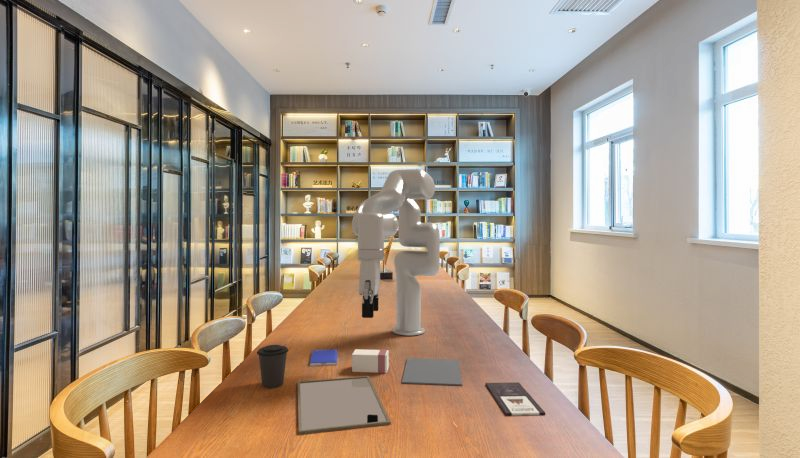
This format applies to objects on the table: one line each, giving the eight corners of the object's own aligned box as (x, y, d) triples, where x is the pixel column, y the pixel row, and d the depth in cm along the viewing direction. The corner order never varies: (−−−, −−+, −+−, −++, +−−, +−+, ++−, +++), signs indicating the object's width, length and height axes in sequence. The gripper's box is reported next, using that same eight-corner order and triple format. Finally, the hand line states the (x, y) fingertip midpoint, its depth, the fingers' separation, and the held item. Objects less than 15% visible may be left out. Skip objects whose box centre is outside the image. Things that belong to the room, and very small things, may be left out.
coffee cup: (261, 392, 109) (261, 353, 109) (253, 382, 116) (253, 345, 116) (292, 386, 113) (292, 348, 113) (283, 376, 120) (283, 340, 120)
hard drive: (312, 350, 141) (309, 362, 129) (337, 349, 142) (337, 361, 130) (312, 354, 141) (309, 367, 129) (337, 353, 142) (337, 366, 130)
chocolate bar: (518, 382, 115) (545, 412, 97) (518, 385, 115) (545, 416, 97) (485, 382, 115) (505, 413, 97) (485, 386, 115) (505, 417, 97)
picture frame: (390, 426, 92) (368, 379, 120) (390, 421, 92) (368, 375, 120) (298, 436, 88) (297, 385, 115) (298, 431, 88) (297, 381, 115)
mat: (407, 359, 135) (407, 358, 135) (458, 360, 134) (458, 359, 134) (401, 383, 115) (401, 381, 115) (462, 385, 114) (462, 384, 114)
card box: (352, 372, 124) (352, 354, 124) (355, 365, 129) (355, 349, 129) (386, 373, 123) (386, 355, 123) (388, 366, 128) (388, 349, 128)
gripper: (363, 253, 134) (362, 308, 135) (352, 257, 117) (351, 320, 117) (387, 253, 134) (386, 308, 134) (379, 257, 117) (379, 321, 117)
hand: (370, 314), depth 126 cm, fingers open, 9 cm apart
